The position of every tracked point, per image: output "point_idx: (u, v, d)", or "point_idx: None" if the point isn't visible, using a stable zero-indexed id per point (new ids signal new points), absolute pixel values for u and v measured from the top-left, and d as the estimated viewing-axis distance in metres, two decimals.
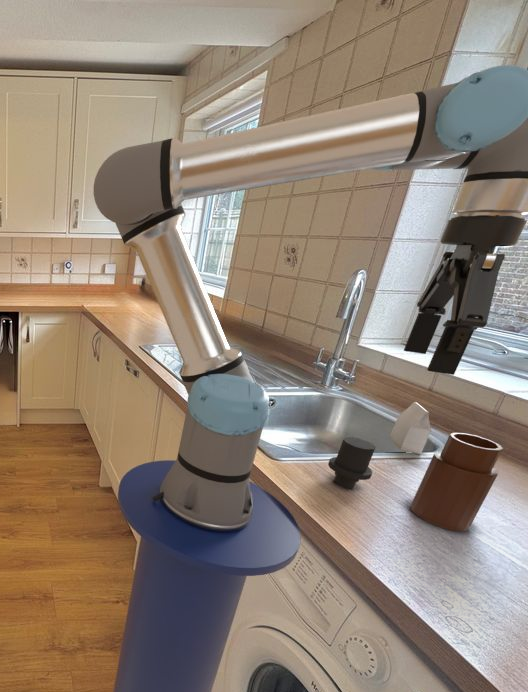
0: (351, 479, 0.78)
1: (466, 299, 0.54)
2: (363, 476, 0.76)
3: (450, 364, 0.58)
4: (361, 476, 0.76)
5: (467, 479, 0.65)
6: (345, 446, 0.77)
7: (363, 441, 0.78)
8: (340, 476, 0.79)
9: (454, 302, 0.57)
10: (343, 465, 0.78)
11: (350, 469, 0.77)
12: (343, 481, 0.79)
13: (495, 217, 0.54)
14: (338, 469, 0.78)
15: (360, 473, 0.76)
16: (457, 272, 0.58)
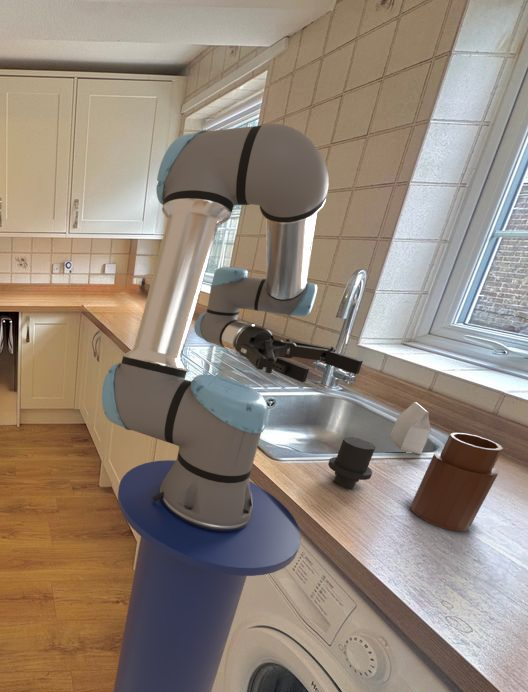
0: (351, 479, 0.78)
1: (319, 345, 0.90)
2: (363, 476, 0.76)
3: None
4: (361, 476, 0.76)
5: (467, 479, 0.65)
6: (345, 446, 0.77)
7: (363, 441, 0.78)
8: (340, 476, 0.79)
9: (310, 347, 0.89)
10: (343, 465, 0.78)
11: (350, 469, 0.77)
12: (343, 481, 0.79)
13: None
14: (338, 469, 0.78)
15: (360, 473, 0.76)
16: None
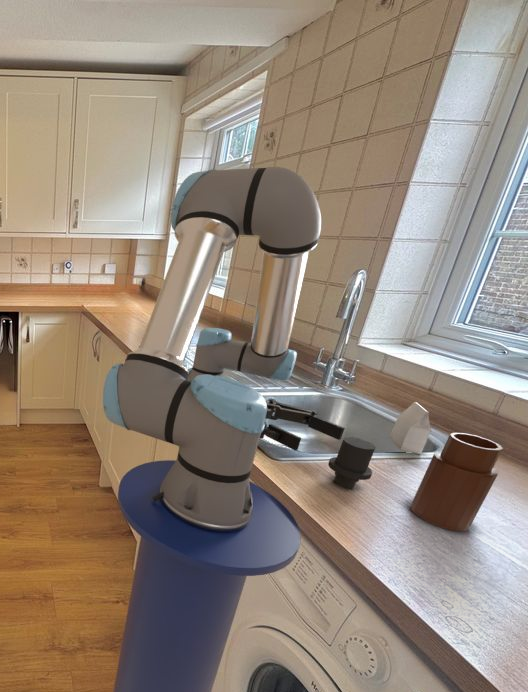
0: (351, 479, 0.78)
1: (300, 408, 0.95)
2: (363, 476, 0.76)
3: None
4: (361, 476, 0.76)
5: (467, 479, 0.65)
6: (345, 446, 0.77)
7: (363, 441, 0.78)
8: (340, 476, 0.79)
9: (294, 411, 0.93)
10: (343, 465, 0.78)
11: (350, 469, 0.77)
12: (343, 481, 0.79)
13: None
14: (338, 469, 0.78)
15: (360, 473, 0.76)
16: None
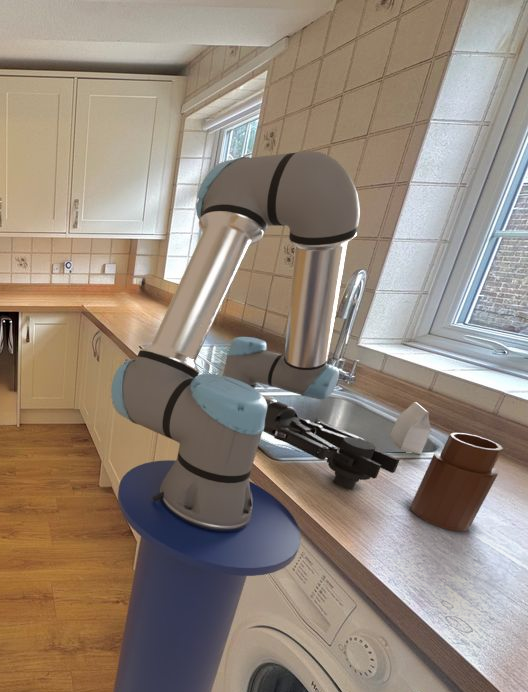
0: (351, 479, 0.78)
1: (347, 432, 0.84)
2: (363, 476, 0.76)
3: None
4: (361, 476, 0.76)
5: (467, 479, 0.65)
6: (345, 446, 0.77)
7: (363, 441, 0.78)
8: (340, 476, 0.79)
9: (337, 434, 0.83)
10: (343, 465, 0.78)
11: (350, 469, 0.77)
12: (343, 481, 0.79)
13: None
14: (338, 469, 0.78)
15: (360, 473, 0.76)
16: None
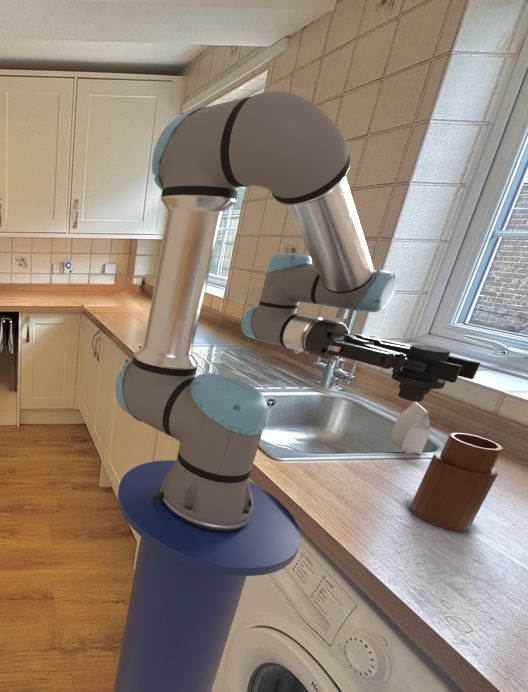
0: (421, 390, 0.68)
1: (410, 345, 0.75)
2: (436, 384, 0.66)
3: None
4: (434, 385, 0.66)
5: (467, 479, 0.65)
6: (414, 352, 0.68)
7: (434, 347, 0.68)
8: (407, 388, 0.69)
9: (399, 346, 0.73)
10: (412, 374, 0.68)
11: (420, 378, 0.67)
12: (410, 395, 0.69)
13: None
14: (406, 379, 0.68)
15: (432, 381, 0.67)
16: None
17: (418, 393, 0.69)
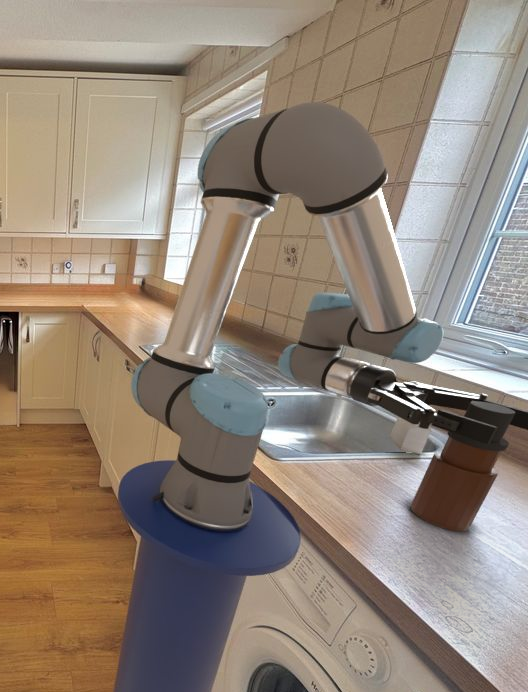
0: None
1: (459, 391, 0.74)
2: (500, 446, 0.63)
3: None
4: (497, 447, 0.63)
5: (467, 479, 0.65)
6: (474, 411, 0.64)
7: (496, 405, 0.65)
8: None
9: (454, 394, 0.72)
10: None
11: None
12: None
13: None
14: (465, 439, 0.65)
15: (495, 443, 0.63)
16: None
17: None
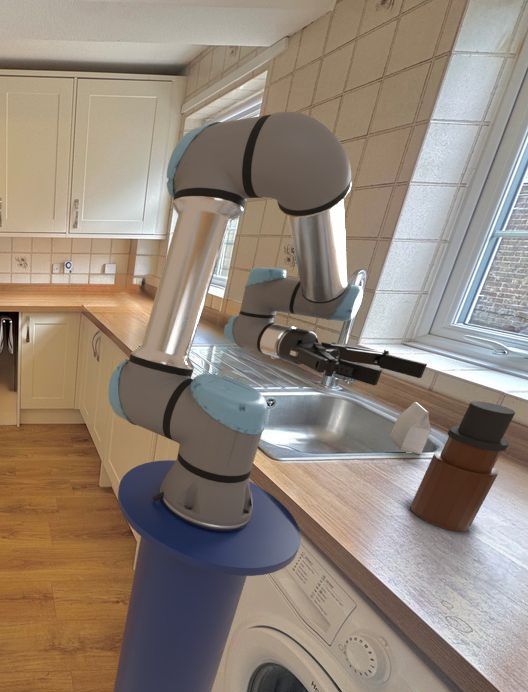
0: None
1: (368, 349, 0.85)
2: (500, 446, 0.63)
3: None
4: (497, 447, 0.63)
5: (467, 479, 0.65)
6: (474, 411, 0.64)
7: (496, 405, 0.65)
8: None
9: (362, 351, 0.83)
10: (472, 434, 0.65)
11: (482, 439, 0.64)
12: None
13: None
14: (465, 439, 0.65)
15: (495, 443, 0.63)
16: None
17: None
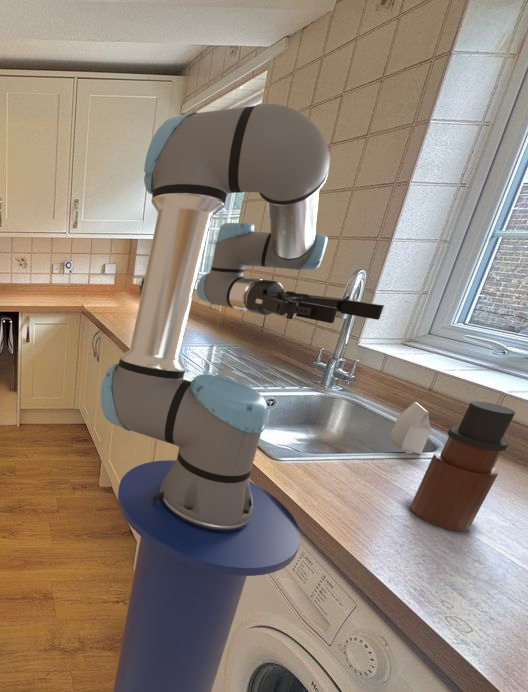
0: None
1: (332, 297, 0.87)
2: (500, 446, 0.63)
3: None
4: (497, 447, 0.63)
5: (467, 479, 0.65)
6: (474, 411, 0.64)
7: (496, 405, 0.65)
8: None
9: (325, 298, 0.85)
10: (472, 434, 0.65)
11: (482, 439, 0.64)
12: None
13: None
14: (465, 439, 0.65)
15: (495, 443, 0.63)
16: None
17: None
